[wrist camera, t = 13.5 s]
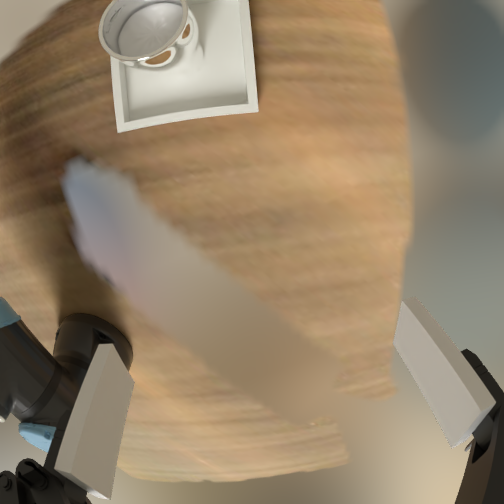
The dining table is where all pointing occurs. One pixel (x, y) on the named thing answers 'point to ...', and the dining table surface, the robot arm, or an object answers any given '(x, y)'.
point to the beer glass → (152, 36)
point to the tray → (195, 74)
